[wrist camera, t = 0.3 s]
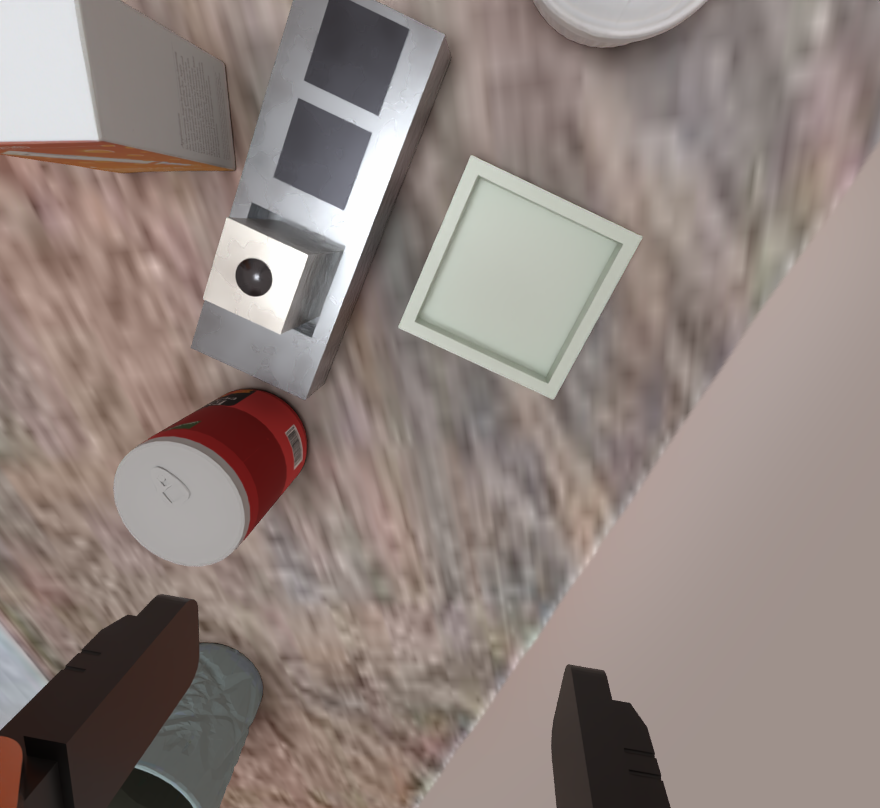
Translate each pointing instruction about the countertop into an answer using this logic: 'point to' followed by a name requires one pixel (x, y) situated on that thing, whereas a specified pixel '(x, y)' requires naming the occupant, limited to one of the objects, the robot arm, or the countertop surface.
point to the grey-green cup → (198, 737)
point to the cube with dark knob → (271, 273)
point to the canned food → (210, 477)
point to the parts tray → (516, 278)
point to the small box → (109, 90)
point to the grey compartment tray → (329, 167)
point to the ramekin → (615, 19)
